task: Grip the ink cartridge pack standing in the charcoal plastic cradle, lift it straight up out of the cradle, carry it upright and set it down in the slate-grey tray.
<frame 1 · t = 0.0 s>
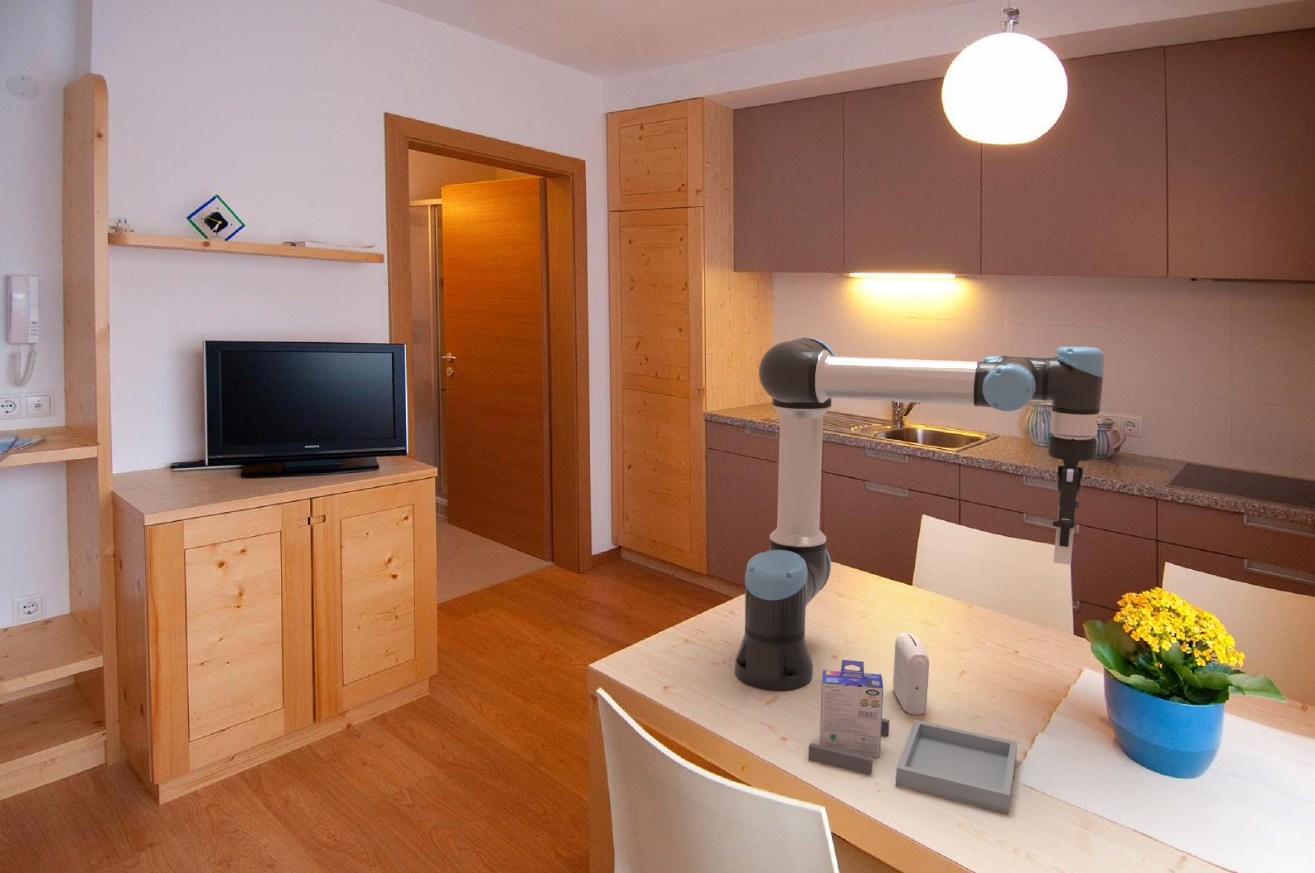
hand: (1062, 552, 152), 28 cm above the table, tool pointing down, fingers open, 13 cm apart
ink cartridge box: (849, 747, 141), on the table
photo printer: (908, 702, 156), on the table
tray: (957, 771, 133), on the table
cradle: (849, 746, 141), on the table
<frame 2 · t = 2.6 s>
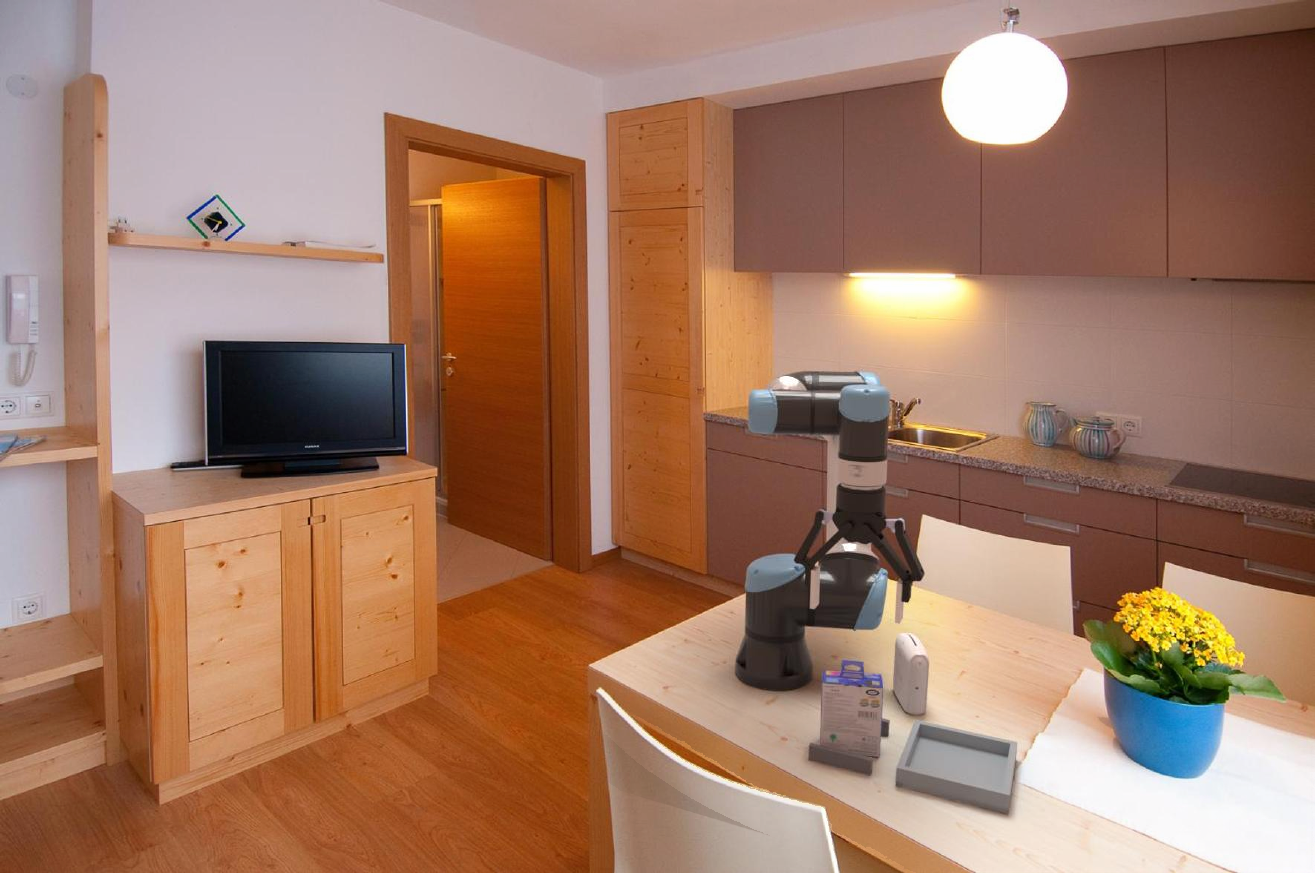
hand: (855, 613, 137), 23 cm above the table, tool pointing down, fingers open, 13 cm apart
nothing on the table moved.
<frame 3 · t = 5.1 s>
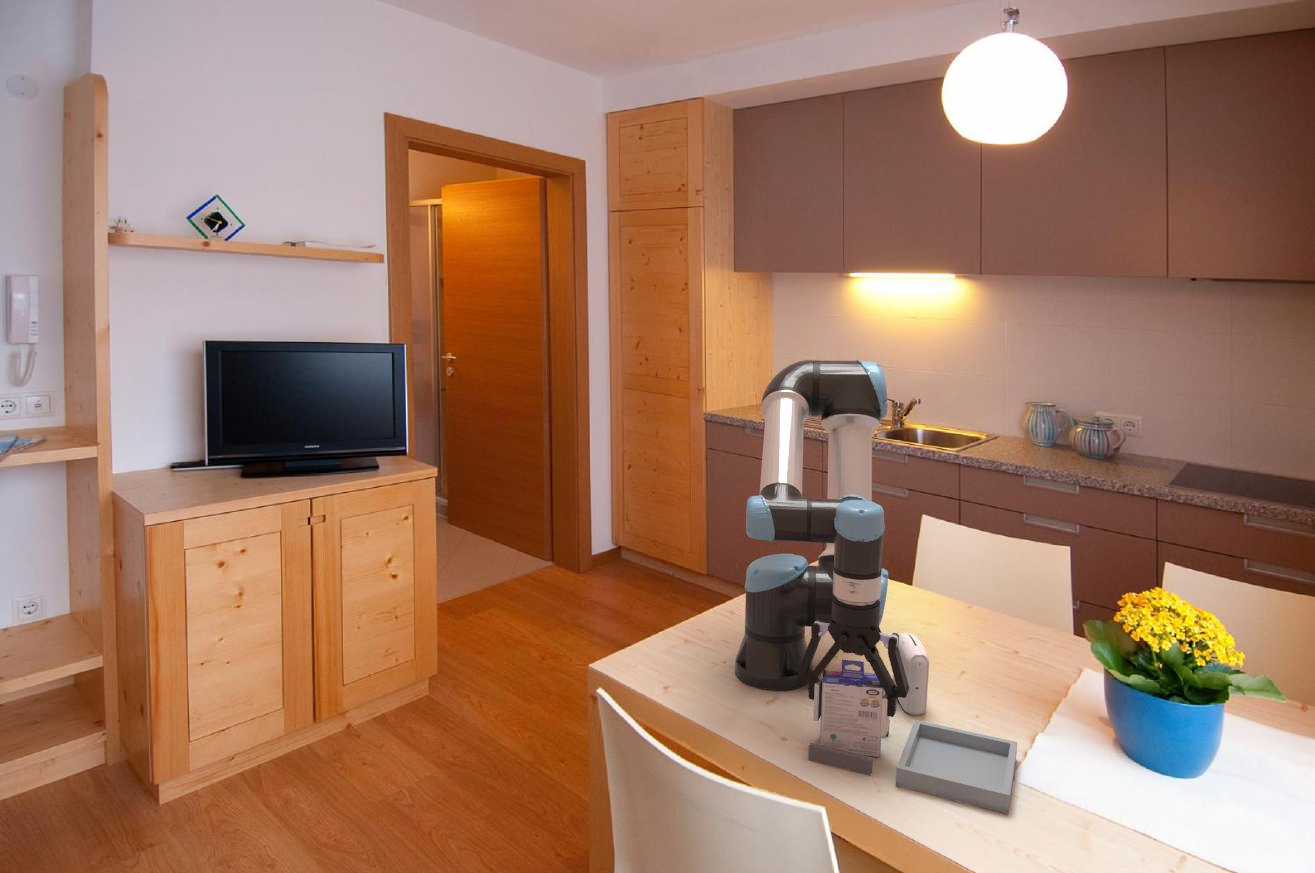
hand: (850, 724, 140), 4 cm above the table, tool pointing down, fingers closed on ink cartridge box, 10 cm apart
ink cartridge box: (850, 747, 141), on the table, touching gripper
everything else where it was.
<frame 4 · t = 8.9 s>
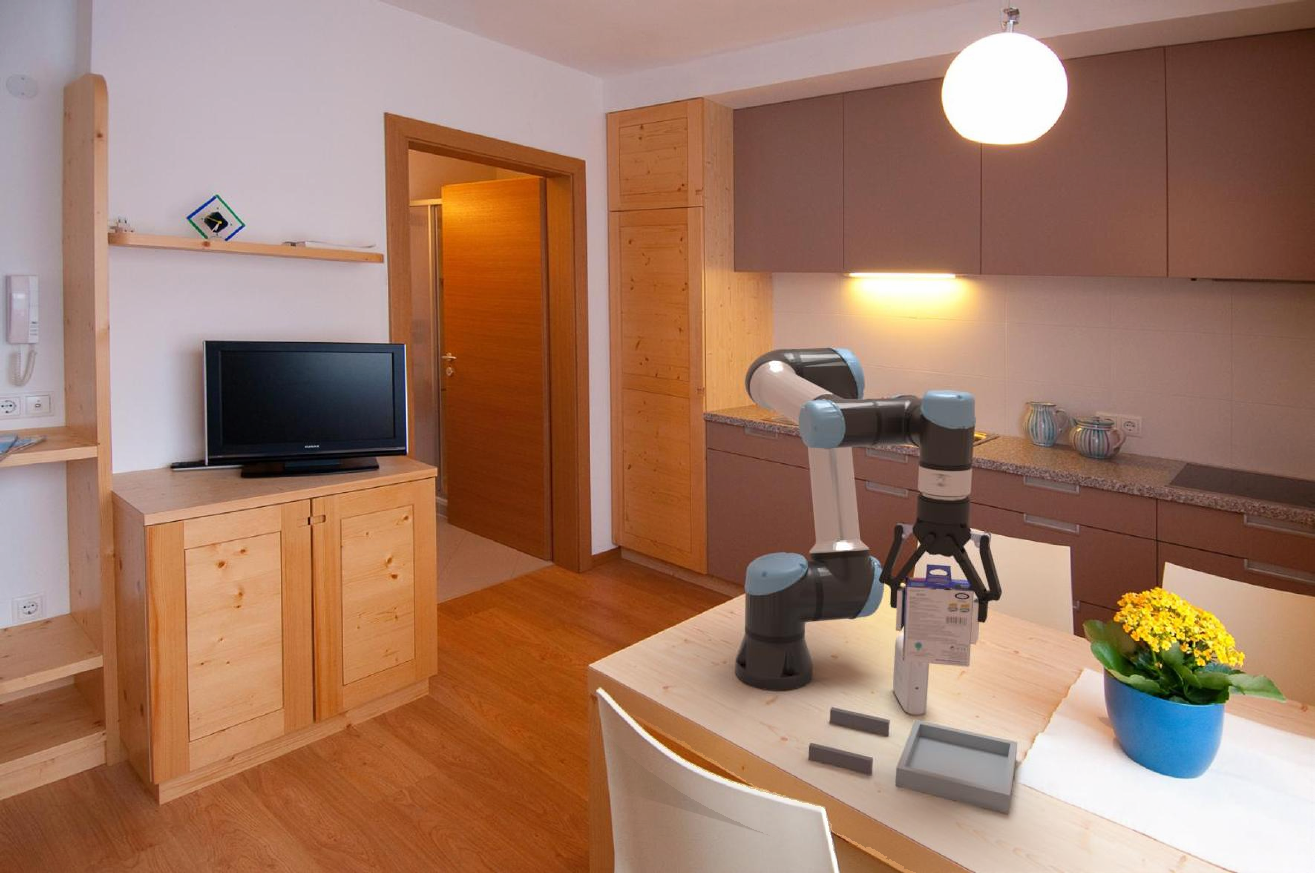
hand: (936, 634, 131), 22 cm above the table, tool pointing down, fingers closed on ink cartridge box, 10 cm apart
ink cartridge box: (935, 659, 131), point 18 cm above the table, touching gripper
everything else where it was.
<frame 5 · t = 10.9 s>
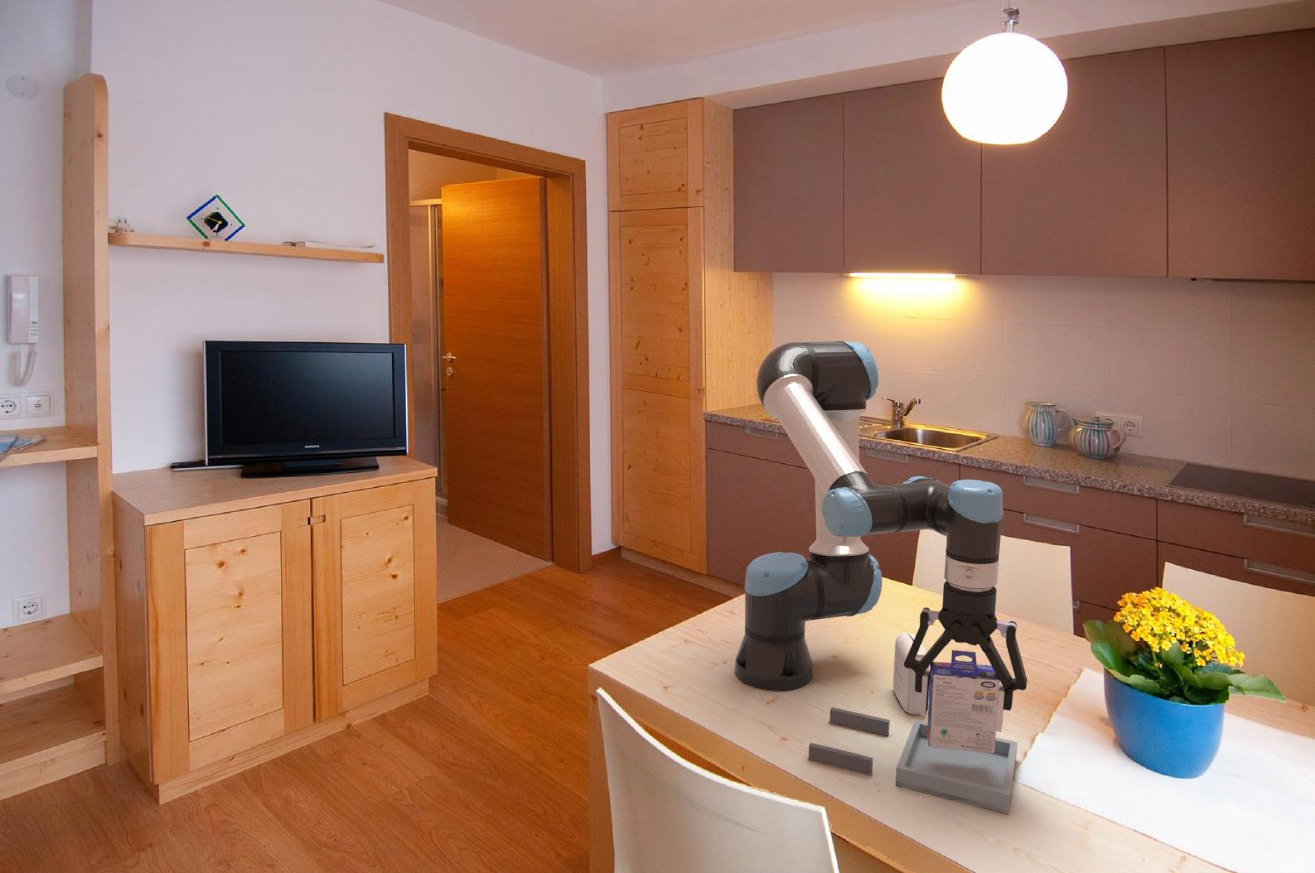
hand: (961, 719, 132), 9 cm above the table, tool pointing down, fingers closed on ink cartridge box, 10 cm apart
ink cartridge box: (959, 743, 132), point 5 cm above the table, touching gripper
everything else where it was.
when the fingers open (6 cm above the table, at t = 12.6 s): ink cartridge box drops 1 cm, resting on tray.
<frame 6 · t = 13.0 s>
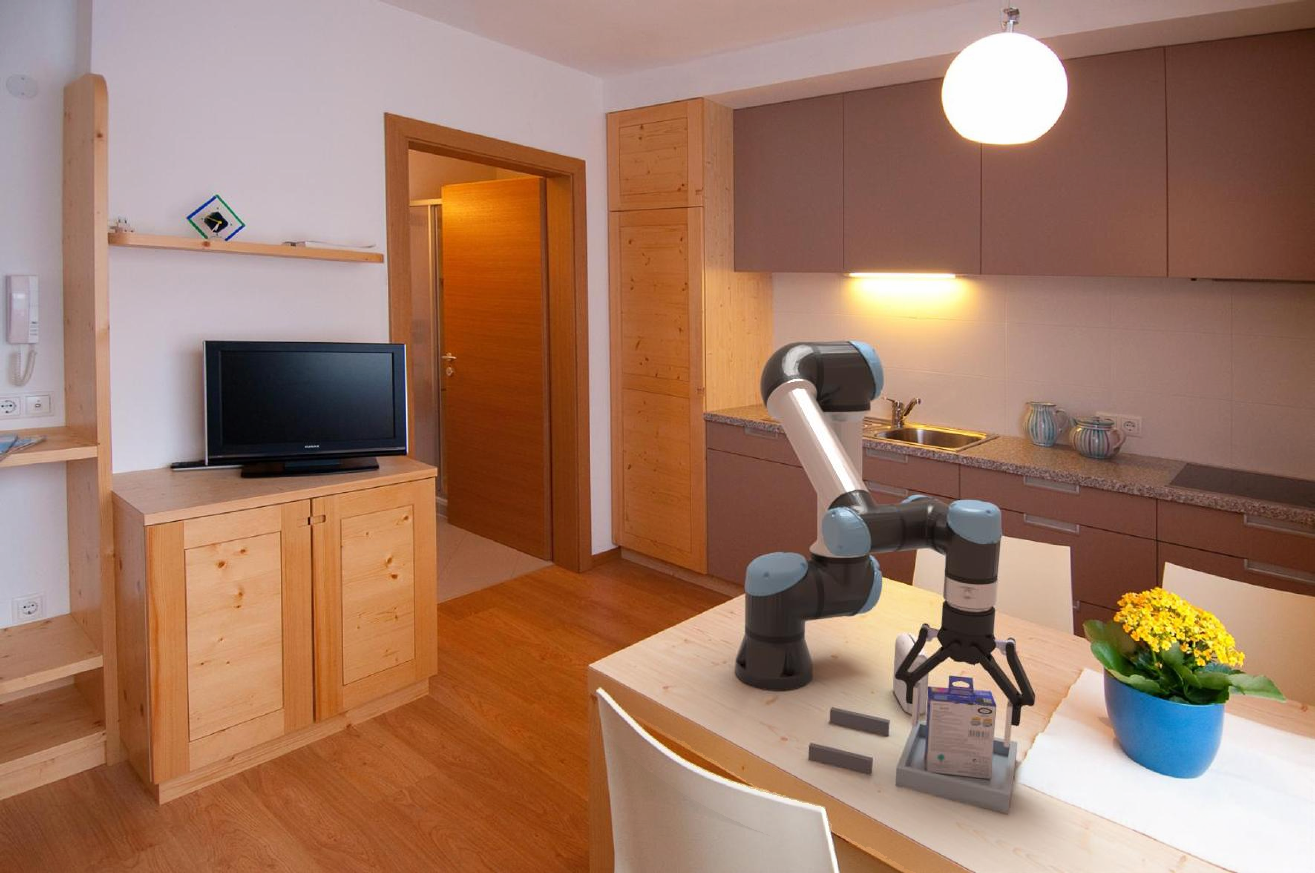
hand: (960, 732, 132), 7 cm above the table, tool pointing down, fingers open, 13 cm apart
ink cartridge box: (956, 768, 133), point 1 cm above the table, touching tray
everything else where it was.
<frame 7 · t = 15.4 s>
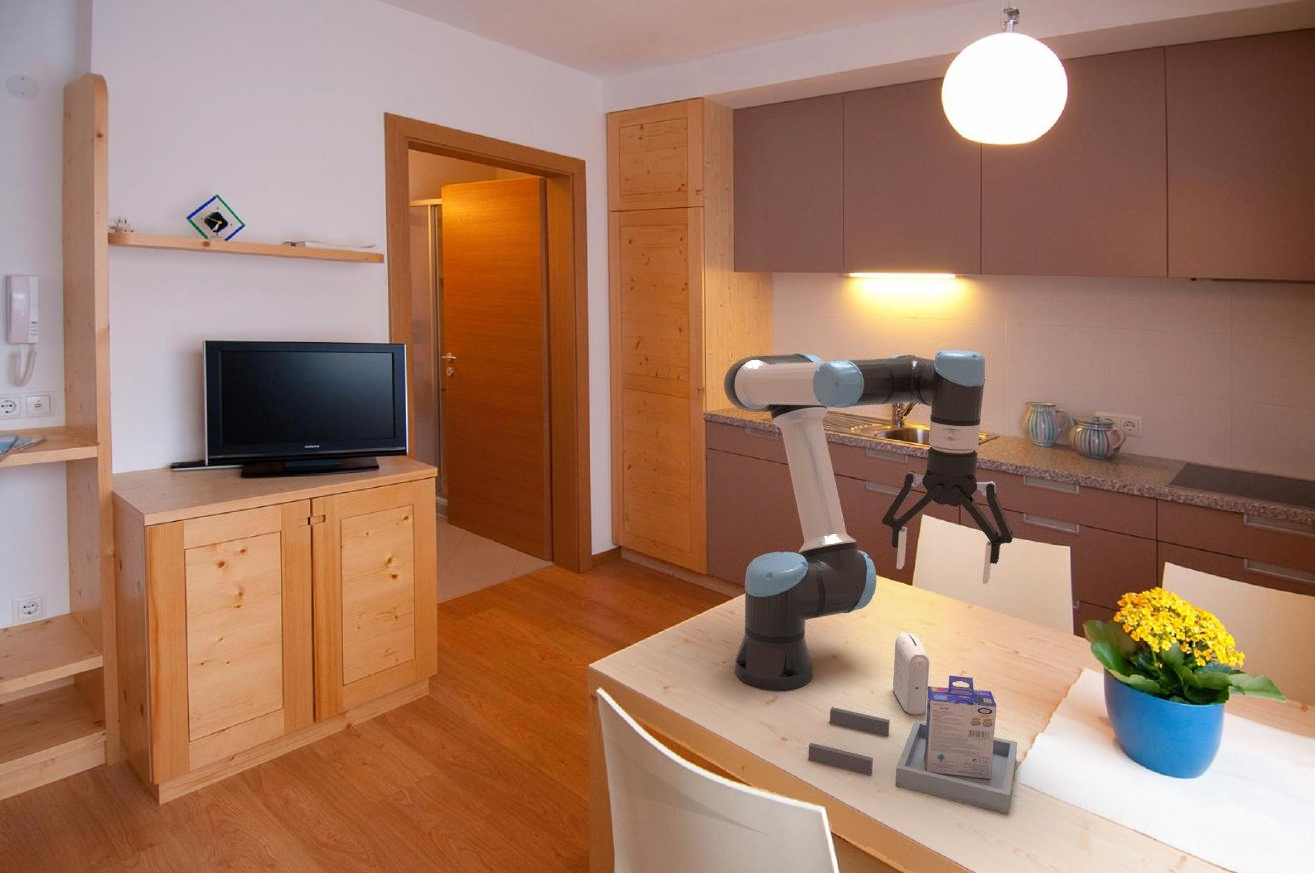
hand: (942, 573, 140), 28 cm above the table, tool pointing down, fingers open, 13 cm apart
nothing on the table moved.
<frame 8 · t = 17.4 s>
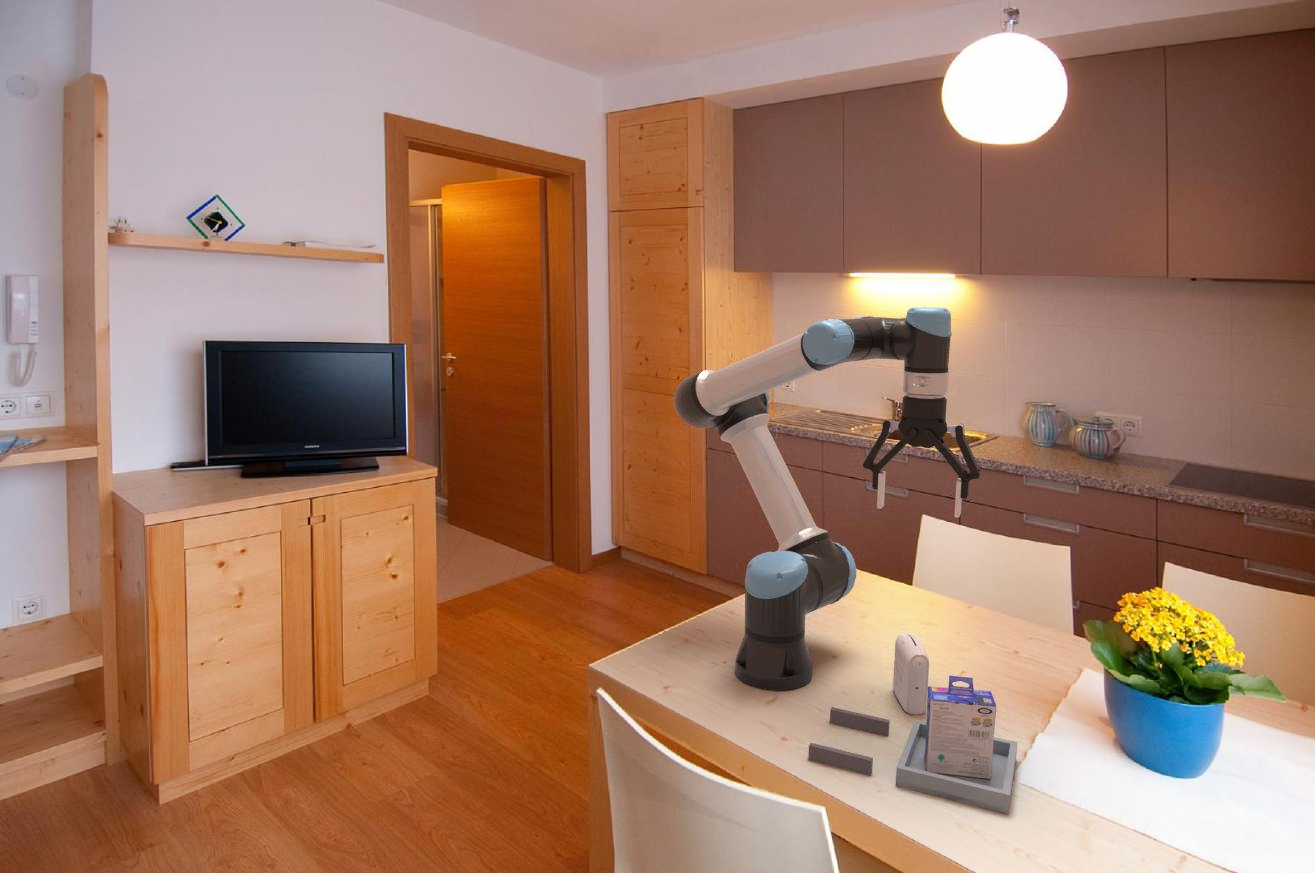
hand: (918, 511, 154), 35 cm above the table, tool pointing down, fingers open, 13 cm apart
nothing on the table moved.
at the end: ink cartridge box inside the target area on the tray (0.1 cm from its centre), point 0.6 cm above the tray's base; ink cartridge box tilted 0°; the gripper is holding nothing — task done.
